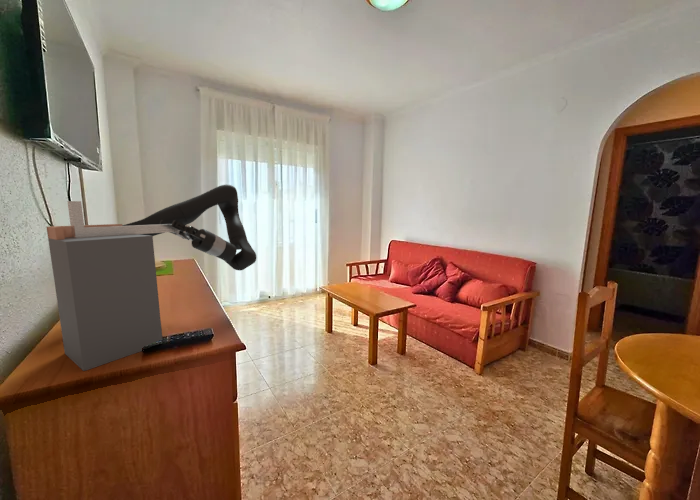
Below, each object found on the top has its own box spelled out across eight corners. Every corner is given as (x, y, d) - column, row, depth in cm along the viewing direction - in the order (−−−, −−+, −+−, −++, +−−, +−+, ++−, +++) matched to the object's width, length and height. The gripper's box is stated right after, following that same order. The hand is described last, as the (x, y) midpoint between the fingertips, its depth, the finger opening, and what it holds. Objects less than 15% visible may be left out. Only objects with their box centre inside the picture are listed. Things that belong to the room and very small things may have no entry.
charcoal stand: (64, 353, 81) (46, 226, 77) (139, 331, 96) (128, 223, 91) (83, 371, 73) (64, 228, 68) (162, 343, 87) (151, 225, 82)
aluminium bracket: (72, 237, 79) (67, 201, 77) (174, 231, 100) (172, 202, 99) (75, 238, 77) (70, 201, 76) (178, 231, 98) (176, 202, 97)
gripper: (202, 233, 114) (161, 212, 101) (224, 234, 106) (182, 212, 93) (194, 251, 112) (151, 232, 99) (216, 254, 104) (171, 234, 91)
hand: (166, 222), depth 96 cm, fingers open, 8 cm apart
